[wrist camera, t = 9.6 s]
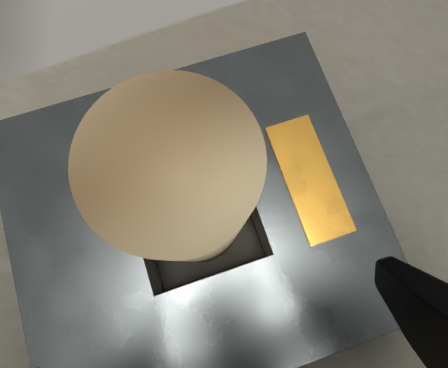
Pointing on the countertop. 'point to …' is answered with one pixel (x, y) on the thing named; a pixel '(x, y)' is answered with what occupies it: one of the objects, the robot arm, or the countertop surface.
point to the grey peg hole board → (219, 282)
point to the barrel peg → (168, 166)
